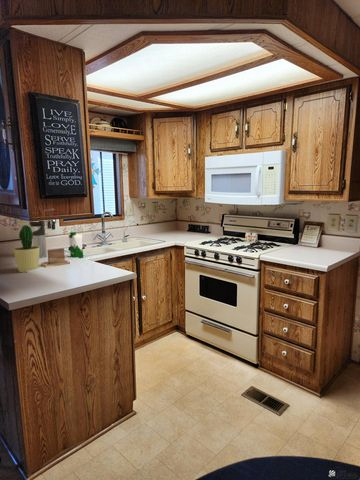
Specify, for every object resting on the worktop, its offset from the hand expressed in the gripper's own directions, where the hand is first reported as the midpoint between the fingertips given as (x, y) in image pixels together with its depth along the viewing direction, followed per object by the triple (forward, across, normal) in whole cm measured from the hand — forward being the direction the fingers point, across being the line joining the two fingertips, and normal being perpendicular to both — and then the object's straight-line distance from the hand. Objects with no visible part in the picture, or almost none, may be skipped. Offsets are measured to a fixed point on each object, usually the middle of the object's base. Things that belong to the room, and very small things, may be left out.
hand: (51, 229), depth 216 cm
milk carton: (+25, -14, +22) cm, 36 cm away
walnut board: (+25, +6, 0) cm, 26 cm away
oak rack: (+25, +4, 0) cm, 25 cm away
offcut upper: (+24, +2, 0) cm, 24 cm away
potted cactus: (+25, +5, -18) cm, 31 cm away
